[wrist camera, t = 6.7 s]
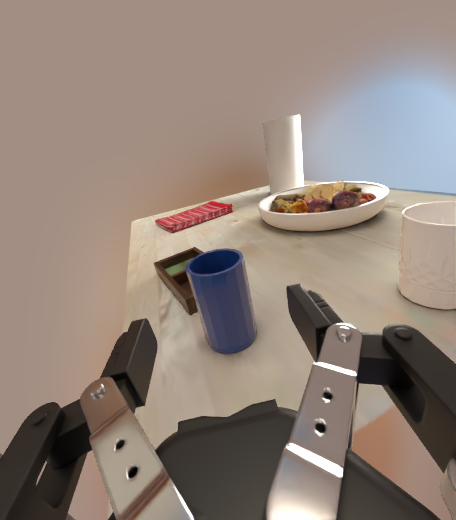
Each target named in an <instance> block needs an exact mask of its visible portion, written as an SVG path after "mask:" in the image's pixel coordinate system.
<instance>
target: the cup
mask: <svg viewBox="0 0 456 520" xmlns="http://www.w3.org/2000/svg"><path fill="white" fill-rule="evenodd" d="M186 273H187V276H188V279H189V282H190V286H191V289H192V292H193V296H194V299H195V302H196V305H197V309H198V312H199V315H200V318H201V322H202V325H203V328H204V331H205V335H206V338H207V340H208V343H209V345H210V346H211V347H212V348H213V349H214V350H216V351H218V352H221V353H235V352H239V351H241V350H244V349H245V348H247V347H248V346H249V345H251V343H252V342H253V341H254V339H255V337H256V333H257V331H256V322H255V317H254V311H253V306H252V300H251V295H250V289H249V283H248V278H247V272H246V267H245V261H244V256H243V254H242V253H241V252H240V251H238V250H235V249H216V250H212V251H208V252H205V253H202V254H200V255H198V256H196V257H194V258H193V259H191V260H190V261H189V262H188V264H187V265H186Z"/></svg>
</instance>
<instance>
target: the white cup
mask: <svg viewBox="0 0 456 520" xmlns="http://www.w3.org/2000/svg"><path fill="white" fill-rule="evenodd" d="M399 257H400V258H399V280H398V288H399V290H400V292H401V294H402V295H403V296H405V297H406V298H407V299H409V300H410V301H412V302H415V303H417V304H420V305H423V306H425V307H430V308H437V309H443V310H446V309H456V201H438V202H428V203H422V204H417V205H413V206H410V207H408V208H406V209H404V210H403V212H402V222H401V236H400V249H399Z"/></svg>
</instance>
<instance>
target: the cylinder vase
mask: <svg viewBox="0 0 456 520" xmlns="http://www.w3.org/2000/svg"><path fill="white" fill-rule="evenodd" d="M263 128H264V138H265V146H266V156H267V165H268V174H269V183H270V192H271V194H275V193H278V192H281V191H284V190H288V189H292V188H296V187H301V186H304V183H303V163H302V143H301V123H300V115H293V116H288V117H284V118H279V119H276V120H272V121H268V122H265V123H263Z"/></svg>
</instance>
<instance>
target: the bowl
mask: <svg viewBox="0 0 456 520" xmlns="http://www.w3.org/2000/svg"><path fill="white" fill-rule="evenodd" d="M388 197H389V189H388V188H387V187H385V186H383V185H380V184H376V183H370V182H344V181H337V182H330V183H321V184H313V185H307V186H301V187H296V188H292V189H288V190H284V191H281V192H278V193H275V194H272V195H270V196H268V197H266V198H264V199H262V200H261V201H260V202H259V204H258V210H259V213H260V216H261V217H262V218H263V220H264V221H265V222H267V223H268V224H270V225H272V226H274V227H277V228H281V229H285V230H293V231H322V230H331V229H338V228H343V227H347V226H351V225H355V224H358V223H361V222H363V221H365V220H368V219H370V218H371V217H373V216H375V215H376V214H377V213H379V212H380V211H381V210H382V209H383V207H384V206H385V205H386V203H387V200H388Z"/></svg>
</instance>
